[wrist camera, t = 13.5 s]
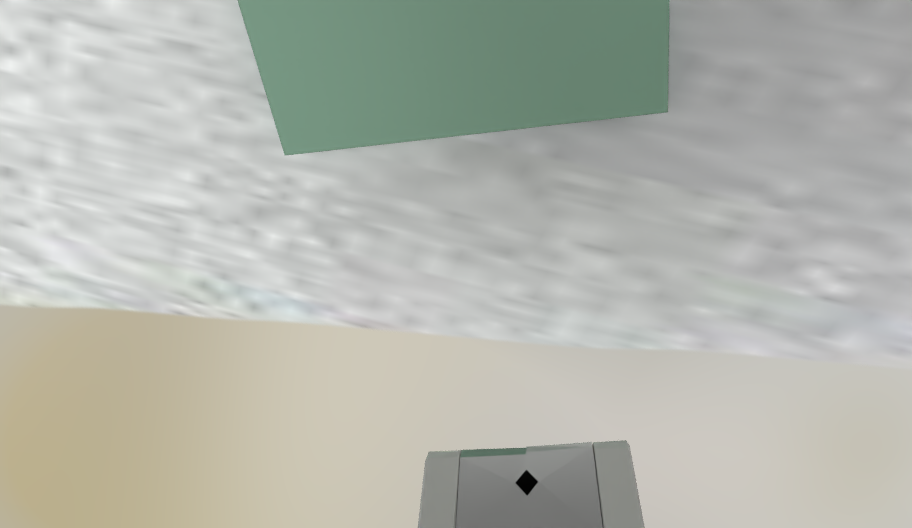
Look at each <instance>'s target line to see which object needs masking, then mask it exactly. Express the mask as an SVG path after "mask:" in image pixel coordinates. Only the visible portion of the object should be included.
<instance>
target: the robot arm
mask: <svg viewBox="0 0 912 528" xmlns="http://www.w3.org/2000/svg"><path fill="white" fill-rule="evenodd" d="M418 528H645V527H644V522H643V517H642V511H641V506H640V500H639V495H638V489H637V484H636V478H635V473H634V468H633V462H632V456H631V451H630V446H629V444H628V443H627V441H626V440H625V441H609V442H594V443H593V445H592V442H587V443H573V444H559V445H545V446H531V447H526V448H506V449H477V450H458V451H435V452H429V453H428V456H427V458H426V461H425V468H424V477H423V487H422V496H421V504H420V513H419V521H418Z"/></svg>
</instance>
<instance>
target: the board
mask: <svg viewBox="0 0 912 528" xmlns="http://www.w3.org/2000/svg"><path fill="white" fill-rule="evenodd" d="M238 3H239V6H240V10H241V13H242V16H243V20H244V23H245V26H246V29H247V33H248V36H249V39H250V43H251V46H252V49H253V52H254V56H255V59H256V62H257V66H258V69H259V72H260V75H261V79H262V82H263V85H264V88H265V92H266V95H267V98H268V102H269V105H270V108H271V111H272V115H273V118H274V121H275V125H276V128H277V131H278V134H279V138H280V141H281V144H282V148H283V151H284V154H285V155H293V154H302V153H311V152H320V151H329V150H338V149H346V148H355V147H364V146H373V145H382V144H391V143H400V142H408V141H417V140H426V139H435V138H444V137H453V136H462V135H470V134H479V133H488V132H497V131H506V130H515V129H524V128H532V127H541V126H550V125H559V124H568V123H577V122H586V121H594V120H603V119H612V118H621V117H630V116H639V115H648V114H656V113H665V112H668V57H669V0H238Z"/></svg>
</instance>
